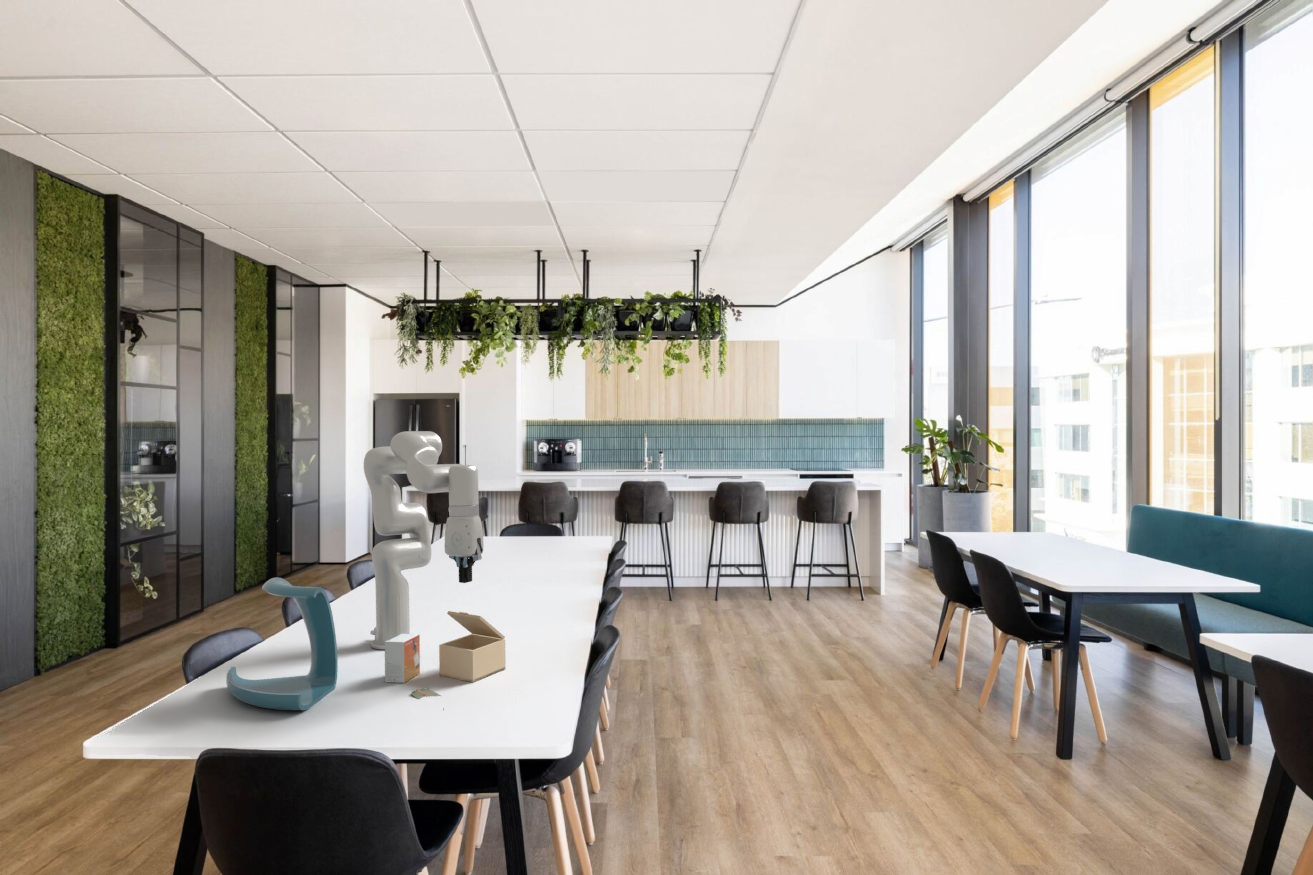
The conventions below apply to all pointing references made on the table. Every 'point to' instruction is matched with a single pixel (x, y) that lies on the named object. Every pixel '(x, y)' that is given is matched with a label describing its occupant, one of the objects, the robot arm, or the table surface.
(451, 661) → the carton
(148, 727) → the table surface
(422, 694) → the map
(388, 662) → the small box
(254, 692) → the headphone stand
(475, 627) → the lid
